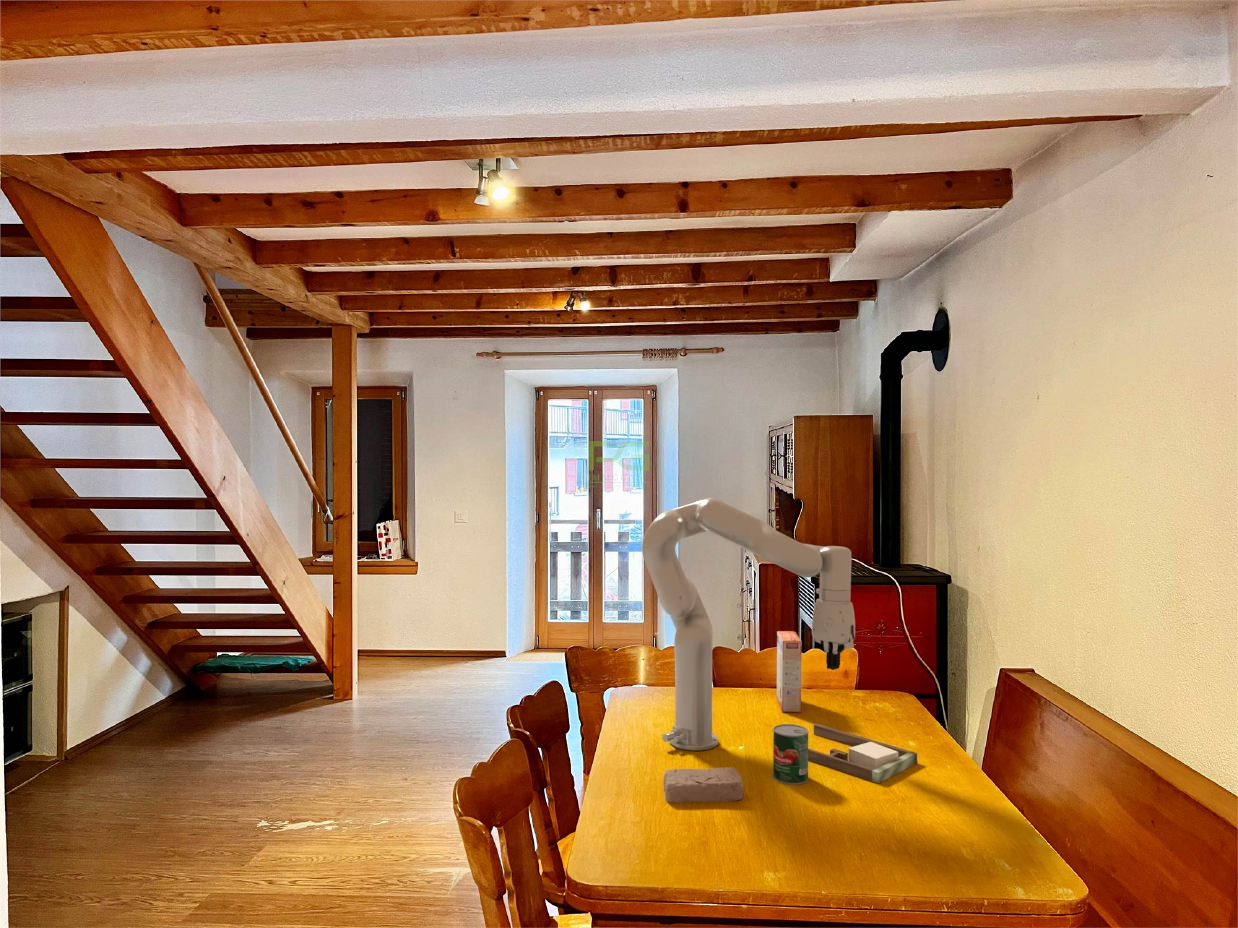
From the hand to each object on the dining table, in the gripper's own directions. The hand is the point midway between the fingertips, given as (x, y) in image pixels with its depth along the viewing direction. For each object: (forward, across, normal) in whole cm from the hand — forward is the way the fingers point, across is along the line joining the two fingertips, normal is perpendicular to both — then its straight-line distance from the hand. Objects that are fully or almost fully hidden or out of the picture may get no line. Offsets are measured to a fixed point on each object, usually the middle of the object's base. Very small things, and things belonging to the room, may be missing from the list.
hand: (833, 668), depth 192 cm
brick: (+22, -4, -44) cm, 49 cm away
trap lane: (+20, +5, -1) cm, 21 cm away
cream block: (+20, +12, -2) cm, 24 cm away
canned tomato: (+21, +4, -22) cm, 31 cm away
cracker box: (+21, -28, +22) cm, 41 cm away
